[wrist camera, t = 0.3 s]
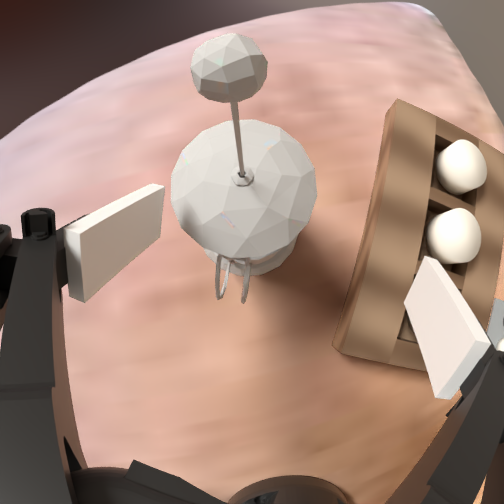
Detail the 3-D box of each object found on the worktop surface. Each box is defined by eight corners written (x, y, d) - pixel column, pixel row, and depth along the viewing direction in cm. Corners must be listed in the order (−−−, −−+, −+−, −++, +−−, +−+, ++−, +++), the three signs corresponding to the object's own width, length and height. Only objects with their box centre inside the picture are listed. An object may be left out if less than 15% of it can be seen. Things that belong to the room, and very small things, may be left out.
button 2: (458, 270, 27) (476, 268, 24) (420, 256, 28) (437, 253, 24) (466, 223, 28) (483, 218, 25) (429, 207, 28) (445, 200, 25)
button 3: (468, 201, 28) (485, 194, 25) (432, 184, 28) (448, 175, 25) (471, 160, 28) (487, 151, 25) (436, 143, 29) (451, 131, 25)
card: (502, 390, 29) (508, 392, 28) (469, 386, 29) (476, 389, 28) (525, 309, 30) (532, 310, 28) (494, 298, 30) (502, 298, 29)
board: (453, 371, 29) (471, 378, 26) (331, 345, 30) (341, 353, 26) (490, 164, 31) (506, 156, 28) (385, 113, 32) (397, 98, 28)
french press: (304, 184, 31) (407, -21, 6) (289, 302, 30) (416, 388, 5) (206, 170, 31) (115, -41, 7) (187, 286, 31) (-13, 307, 6)
